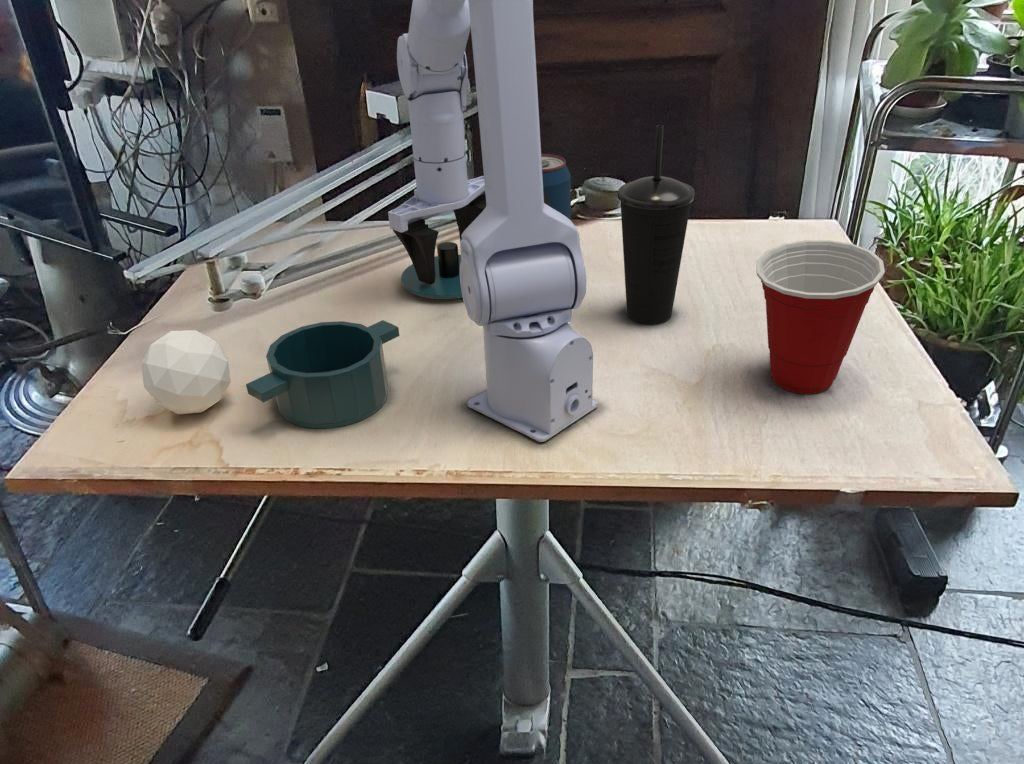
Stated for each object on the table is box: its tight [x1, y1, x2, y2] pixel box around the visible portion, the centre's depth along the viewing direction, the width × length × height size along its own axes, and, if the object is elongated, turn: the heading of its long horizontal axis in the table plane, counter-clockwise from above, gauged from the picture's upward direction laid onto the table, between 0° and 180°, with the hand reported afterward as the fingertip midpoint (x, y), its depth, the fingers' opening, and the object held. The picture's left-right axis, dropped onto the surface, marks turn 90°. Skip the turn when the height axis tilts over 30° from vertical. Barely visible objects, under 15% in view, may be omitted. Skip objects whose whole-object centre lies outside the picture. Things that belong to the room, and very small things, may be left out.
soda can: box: [541, 153, 572, 221], centre depth 107 cm, size 7×7×12 cm
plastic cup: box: [755, 239, 886, 395], centre depth 81 cm, size 11×11×12 cm
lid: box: [400, 241, 463, 300], centre depth 104 cm, size 11×11×5 cm
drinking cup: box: [617, 124, 696, 325], centre depth 91 cm, size 8×8×20 cm
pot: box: [245, 319, 400, 429], centre depth 84 cm, size 10×16×6 cm, turn 137°
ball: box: [141, 329, 232, 415], centre depth 83 cm, size 8×8×8 cm
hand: (449, 271), depth 105 cm, fingers open, 7 cm apart
